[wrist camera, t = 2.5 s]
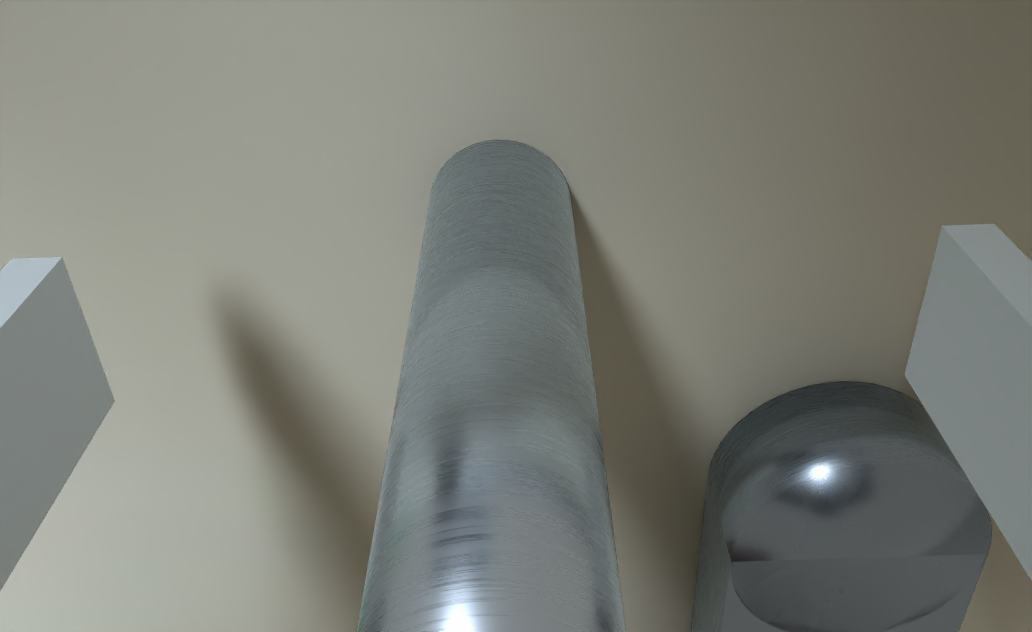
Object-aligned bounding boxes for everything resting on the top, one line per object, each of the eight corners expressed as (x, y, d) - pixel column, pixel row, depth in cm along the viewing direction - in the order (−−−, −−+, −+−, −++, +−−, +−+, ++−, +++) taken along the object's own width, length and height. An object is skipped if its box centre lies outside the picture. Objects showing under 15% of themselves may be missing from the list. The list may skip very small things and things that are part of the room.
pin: (398, 121, 15) (149, 1006, 5) (593, 114, 15) (782, 993, 5) (418, 287, 17) (270, 1184, 7) (591, 281, 17) (723, 1178, 7)
